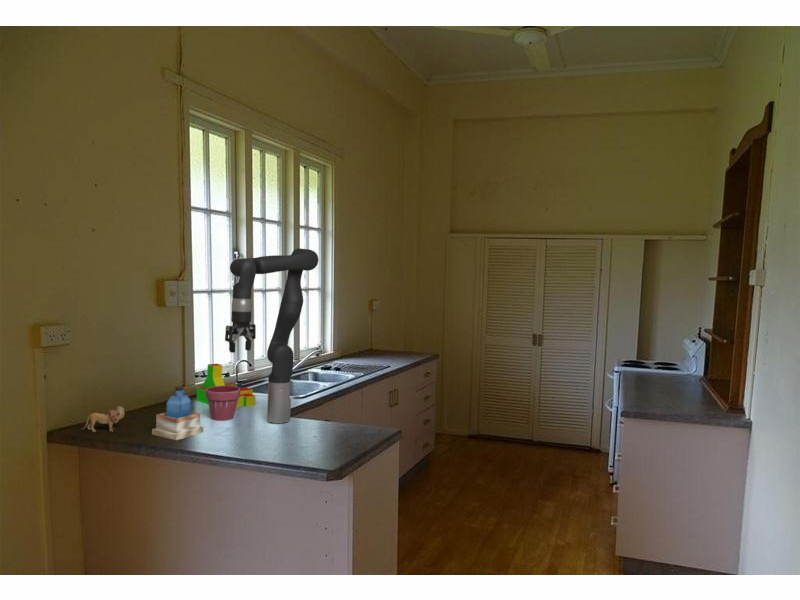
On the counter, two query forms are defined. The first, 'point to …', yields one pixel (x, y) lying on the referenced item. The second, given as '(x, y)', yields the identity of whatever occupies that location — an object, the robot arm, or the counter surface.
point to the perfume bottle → (179, 404)
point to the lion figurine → (105, 418)
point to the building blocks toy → (216, 380)
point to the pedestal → (177, 426)
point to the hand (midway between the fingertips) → (240, 351)
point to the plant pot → (222, 401)
